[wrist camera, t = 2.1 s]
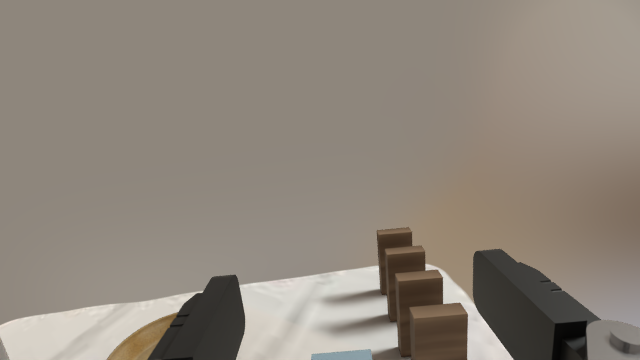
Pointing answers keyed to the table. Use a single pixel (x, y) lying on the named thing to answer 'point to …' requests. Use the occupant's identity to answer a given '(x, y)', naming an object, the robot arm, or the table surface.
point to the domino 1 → (344, 355)
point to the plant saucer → (142, 340)
